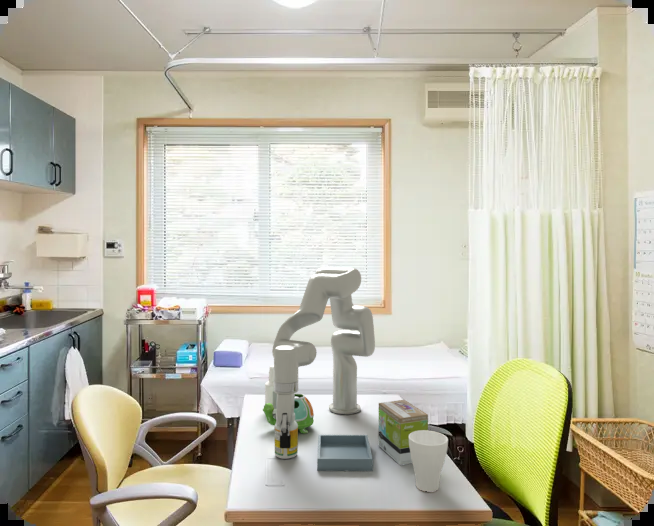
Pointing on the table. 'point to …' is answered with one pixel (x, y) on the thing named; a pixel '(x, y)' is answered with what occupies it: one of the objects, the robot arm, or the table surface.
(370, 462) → the tray
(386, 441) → the tea box
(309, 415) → the turtle holder
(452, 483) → the table surface
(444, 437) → the cup
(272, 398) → the spray bottle
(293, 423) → the supplement bottle
